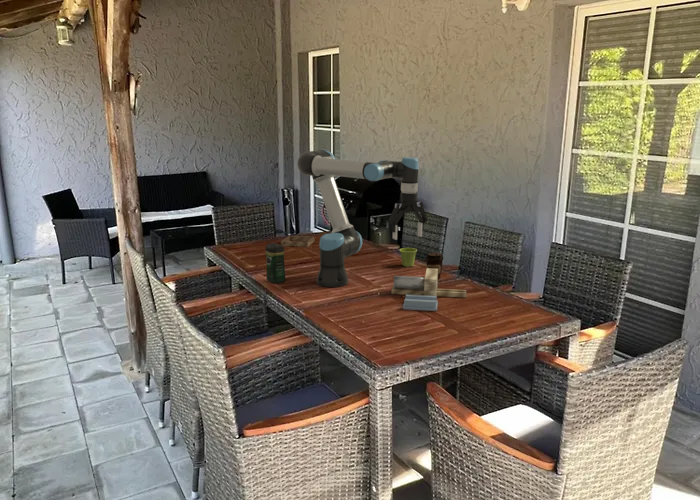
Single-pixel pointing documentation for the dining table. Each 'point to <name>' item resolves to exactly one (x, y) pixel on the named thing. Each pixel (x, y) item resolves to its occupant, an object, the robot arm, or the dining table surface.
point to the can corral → (298, 238)
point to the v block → (420, 302)
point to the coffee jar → (275, 263)
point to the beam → (431, 287)
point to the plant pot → (408, 256)
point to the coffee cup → (435, 262)
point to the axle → (409, 283)
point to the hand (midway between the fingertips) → (407, 237)
